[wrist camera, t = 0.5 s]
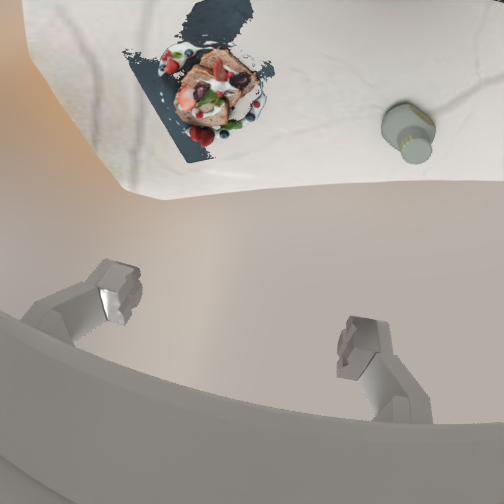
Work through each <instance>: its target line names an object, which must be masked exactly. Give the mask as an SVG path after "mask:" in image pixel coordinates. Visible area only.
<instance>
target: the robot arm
mask: <svg viewBox="0 0 504 504" xmlns="http://www.w3.org/2000/svg"><path fill="white" fill-rule="evenodd" d="M140 276H141V274H140V269H139V268H138V267H134V266H131V265H127V264H124V263H121V262H117V261H113V260H110V259H104V260H103V261H102V262H101V263H100V264H99V265H98V267H97V268H96V269H95V270H94V271H93V273H92V274H91V275H90V276H89V277H88V279H87V280H86V281H85V282H80V283H77V284H75V285H73V286H70V287H68V288H66V289H63V290H61V291H59V292H56V293H54V294H52V295H49V296H47V297H45V298H43V299H40V300H38V301H36V302H35V303H34V304H33V305H32V306H31V308H30V309H29V310H28V311H27V313H26V314H25V315H24V316H23V317H22V319H21V320H20V321H19V320H17V319H16V318H13V317H12V316H10V315H8V314H6V313H4V312H3V311H1V310H0V504H504V423H502V422H496V423H495V422H494V423H480V424H479V423H478V424H433V420H432V412H431V403H430V398H429V397H428V395H427V394H426V392H425V391H424V390H423V388H422V387H421V386H420V385H419V384H418V382H417V381H416V379H415V378H414V377H413V376H412V374H411V373H410V372H409V370H408V369H407V368H406V367H405V365H404V364H403V363H402V362H401V360H400V359H399V358H398V357H397V356H396V355H393V348H392V341H391V335H390V329H389V324H388V322H386V321H380V320H373V319H368V318H362V317H356V316H350V317H349V318H348V320H347V323H346V325H347V326H346V329H344V330H342V333H341V335H340V338H339V342H338V347H337V354H338V355H339V357H340V358H339V360H338V362H337V377H339V378H344V379H350V380H356V381H357V383H358V384H359V386H360V388H361V390H362V392H363V394H364V395H365V397H366V399H367V401H368V403H369V405H370V406H371V408H372V410H373V412H374V414H375V416H376V417H375V418H374V419H373V420H372V421H362V420H353V419H344V418H335V417H328V416H321V415H314V414H307V413H301V412H295V411H289V410H284V409H278V408H273V407H268V406H263V405H258V404H253V403H249V402H244V401H240V400H236V399H231V398H227V397H223V396H219V395H215V394H211V393H207V392H204V391H200V390H196V389H193V388H189V387H186V386H183V385H179V384H176V383H173V382H169V381H166V380H163V379H160V378H157V377H154V376H150V375H148V374H145V373H142V372H139V371H136V370H133V369H130V368H127V367H124V366H122V365H119V364H117V363H114V362H111V361H109V360H106V359H104V358H101V357H98V356H96V355H93V354H91V353H89V352H86V351H84V350H81V349H79V348H76V347H75V346H74V344H73V343H74V342H75V341H77V340H78V339H80V338H81V337H83V336H85V335H86V334H88V333H89V332H91V331H92V330H94V329H96V328H97V327H99V326H100V325H102V324H103V323H105V322H106V321H111V322H114V323H117V324H120V325H124V326H125V325H126V323H127V321H128V320H129V318H130V317H131V315H132V311H131V309H133V308H135V307H137V305H138V304H139V302H140V299H141V296H142V284H141V283H140V281H139V280H138V279H139V278H140Z"/></svg>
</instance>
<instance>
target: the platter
mask: <svg viewBox="0 0 504 504" xmlns="http://www.w3.org/2000/svg"><path fill="white" fill-rule="evenodd" d="M253 12H254V11H253V10H252V7H251V3H250V0H204V1H201V2H198V3H196V4H195V5H194V7H193V9H192V12H190V14H188V15H186V16H187V19H185V20H188V21H187V22H184V23H183V24H182V26H183V27H184V28H183V29H184V30H183V31H181V32H179V33H181V34H182V37H181V36H179V38H182V40H183V41H180V42H179V43H177V44H174V45H172V46H170V47H169V48H167V49H166V51H165V52H164V54H163V55H162V57H161V58H160V61H158V60H152V59H151V60H150V59H146V58H145V59H144V58H141V57H139V56H141V55H140V54H141V52H138V53H140V54H137V52H135V53H133V54H135V56H134V58H132V57H130V56H128V58H127V57H125V58H126V59H127V60H129V61H128V62H130V63H129V66H130V67H131V69H132V71H133V72H134V74H135V76H136V78H137V79H138V81H139V83H140V85H141V87H142V88H143V90H144V92H145V93H146V95H147V97H148V99H149V100H150V102H151V104H152V105H153V107H154V109H155V110H156V112H157V114H158V115H159V117H160V119H161V121H162V122H163V124H164V125H165V127H166V128H167V130H168V132H169V134H170V136H171V137H172V139H173V140H174V142H175V144H176V145H177V147H178V149H179V151H180V153H181V154H182V155H183V157H184V158H185V160H186V162H187V163H194V162H198V161H203V160H208V159H213V158H214V157H212V158H210V157H211V155H210V154H209V155H210V156H209V158H207V156H208V155H207V154H208V153H210V152H208V151H206V148H205V147H206V146H208V145H210V144H211V143H212V142H213V140H214V139H217V138H219V137H221V138H223V139H225V138H227V137H228V136H229V135H231V133H232V132H233V131H234V130H236V129H238V128H239V129H240V128H242V127H243V126H245V125H246V124H248V123H249V122H252V121H254V120H256V119H257V118H258V117H259V114H260V112H261V110H262V108H263V107H264V105H265V103H266V98H267V96H265V95H264V93H263V90H262V89H263V86H264V85H263V82H261V80H260V79H259V78H261V79H262V78H264V81H266V82H267V79H266V78H267V77H271V76H274V75H275V72H274V67H273V66H271V65H270V63H271V61H269V63H267V62H264V61H263V62H264V64H266V65H267V66H266V65H265V66H266V67H265V66H263V65H261V66H263V67H262V69H260V70H261V71H258V73H257V71H250V70H249V69H248V68H247V67H245V65H243V64H242V63H241V62H240V61H239V59H238V58H235V57H234V56H233V54H231V52H230V49H229V48H228V47H233V46H237V45H235V44H234V43H232V42H231V41H233V40H234V38H236V36H237V35H236V34H240V28H242V27H243V26H242V25H243V24H245V23H246V24H247V22H246V21H247V20H248V19H249V18H251V19H252V18H253V17H252V13H253ZM245 20H246V21H245ZM250 21H251V20H250ZM244 22H245V23H244ZM185 27H186V28H185ZM240 35H241V34H240ZM174 37H178V35H175V36H174ZM227 46H228V47H227ZM126 50H127V49H126ZM131 50H132V49H131ZM127 51H128V50H127ZM241 51H242V50H241ZM125 52H126V51H122V53H124V56H125ZM126 55H132V53H127V52H126ZM132 56H133V55H132ZM242 56H243V57H244V58H248V57H251V56H250V55H242ZM136 57H137V58H136ZM142 59H143V60H142ZM153 59H157V58H156V57H155V58H153ZM251 59H252V60H253V61H254V62H255V60H254V59H253V58H252V57H251ZM133 60H134V61H133ZM135 60H136V61H135ZM140 61H142V62H140ZM151 61H152V62H151ZM155 61H157V62H155ZM131 62H132V63H131ZM135 62H139V63H140V64H137V63H136V64H135ZM252 65H253V67H254V66H255V65H254V64H252ZM182 70H184V71H182ZM180 71H181V72H182V73H184V75H185V76H180V75H179V76H180V77H181V78H179V80H178V79H175V77H173V74H174V73H177V72H180ZM263 72H264V73H263ZM271 73H272V74H271ZM260 74H262V76H260ZM171 75H172V76H171ZM181 75H182V74H181ZM256 76H257V77H256ZM258 76H259V77H258ZM168 78H169V79H168ZM172 78H173V79H172ZM176 78H178V77H176ZM271 78H272V77H271ZM178 81H179V82H180V83H179V84H177V83H178ZM259 83H260V84H259ZM257 85H258V86H259V85H260V88H261V95H260V96H259V97H258V98H257V99H255V100H254V101H253V103H252V104H250V105H251V106H250V107H251V109H250V111H249V112H247V113H248V114H247V115H246V116H245V117H244V118H243V119H241V120H239V121H237V120H236V119H235V120H234V119H231V120H228V118H229V117H228V116H229V115H228V113H229V108H230V107H232V110H234V109H235V108H234V105H235V104H236V102H238V100H239V97H241V98H243V97H244V96H245V94H247V93H248V92H250V91H251V90H252V89H253V88H254V86H257ZM258 91H259V90H258ZM258 94H259V92H258ZM256 95H257V93H256ZM236 121H237V122H236ZM216 125H219V126H221V128H220V129H218V130H215V129H213V128H211V127H212V126H216ZM209 126H210V127H209ZM202 154H203V156H202ZM215 158H216V157H215Z"/></svg>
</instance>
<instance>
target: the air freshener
mask: <svg viewBox="0 0 504 504" xmlns="http://www.w3.org/2000/svg"><path fill="white" fill-rule="evenodd" d="M381 132H382V136H383V138H384V139H385V140H386V141H387V142H388V143H389V144H390V145H391V146H392V147H394V148H395V149H397V150H398V151H400V152H401V155H402V158H403V159H404V160H405V161H406V162H408V163H410V164H421V163H424V162H425V161H427V160H428V159H429V157H430V156H431V153H432V147H431V143H432V142H433V140H434V137H435V132H436V127H435V125H434V123H433V122H432V121H431V120H430V119H429V118H428V117H427V116H426V115H425V114H424V113H423V112H422V111H420V110H419V109H418V108H416V107H415V106H413V105H411V104H403V105H399V106H396V107H394V108H393V109H391V110H390V111H389V112H388V113H387V114H386V115H385V117H384V119H383V121H382V126H381Z"/></svg>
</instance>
